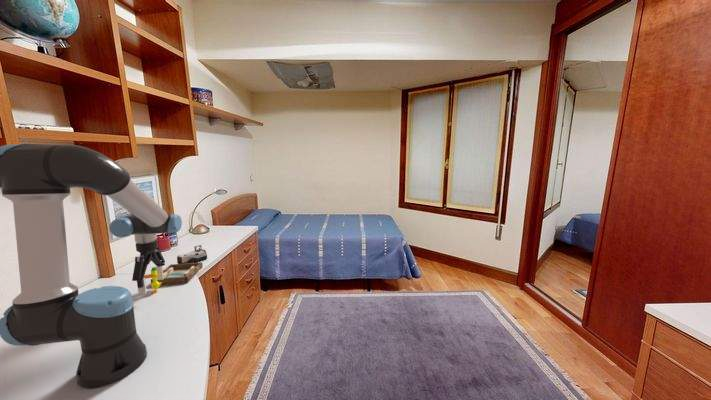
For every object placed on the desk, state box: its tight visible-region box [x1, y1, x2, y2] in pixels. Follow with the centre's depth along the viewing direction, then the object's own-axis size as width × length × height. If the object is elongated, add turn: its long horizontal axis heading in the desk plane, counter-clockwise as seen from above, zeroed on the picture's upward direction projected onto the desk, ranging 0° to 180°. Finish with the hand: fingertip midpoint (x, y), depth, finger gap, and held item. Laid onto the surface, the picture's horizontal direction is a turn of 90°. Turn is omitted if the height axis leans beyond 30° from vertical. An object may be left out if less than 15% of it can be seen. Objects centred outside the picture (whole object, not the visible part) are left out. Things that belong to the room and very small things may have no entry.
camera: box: [176, 244, 208, 264], centre depth 152 cm, size 15×8×10 cm, turn 148°
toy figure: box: [144, 266, 162, 294], centre depth 119 cm, size 7×4×12 cm, turn 116°
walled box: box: [150, 262, 204, 287], centre depth 135 cm, size 19×16×4 cm
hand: (151, 286), depth 117 cm, fingers open, 13 cm apart
